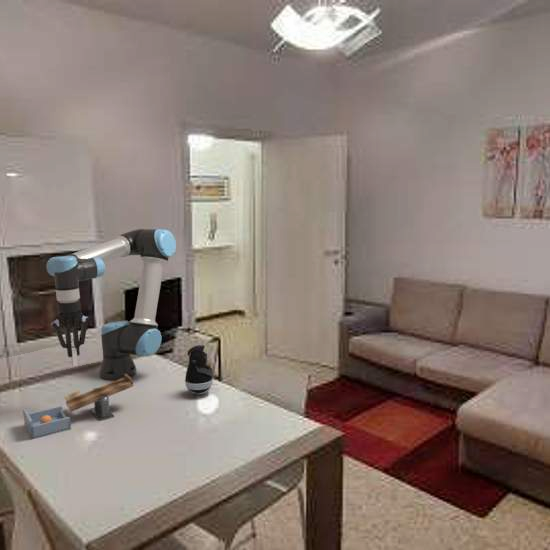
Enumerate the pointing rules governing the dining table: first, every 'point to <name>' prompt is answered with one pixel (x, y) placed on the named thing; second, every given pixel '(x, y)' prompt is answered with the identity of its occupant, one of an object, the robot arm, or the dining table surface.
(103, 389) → the lever
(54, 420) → the tray
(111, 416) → the stand
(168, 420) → the dining table surface
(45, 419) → the ball
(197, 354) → the toy
